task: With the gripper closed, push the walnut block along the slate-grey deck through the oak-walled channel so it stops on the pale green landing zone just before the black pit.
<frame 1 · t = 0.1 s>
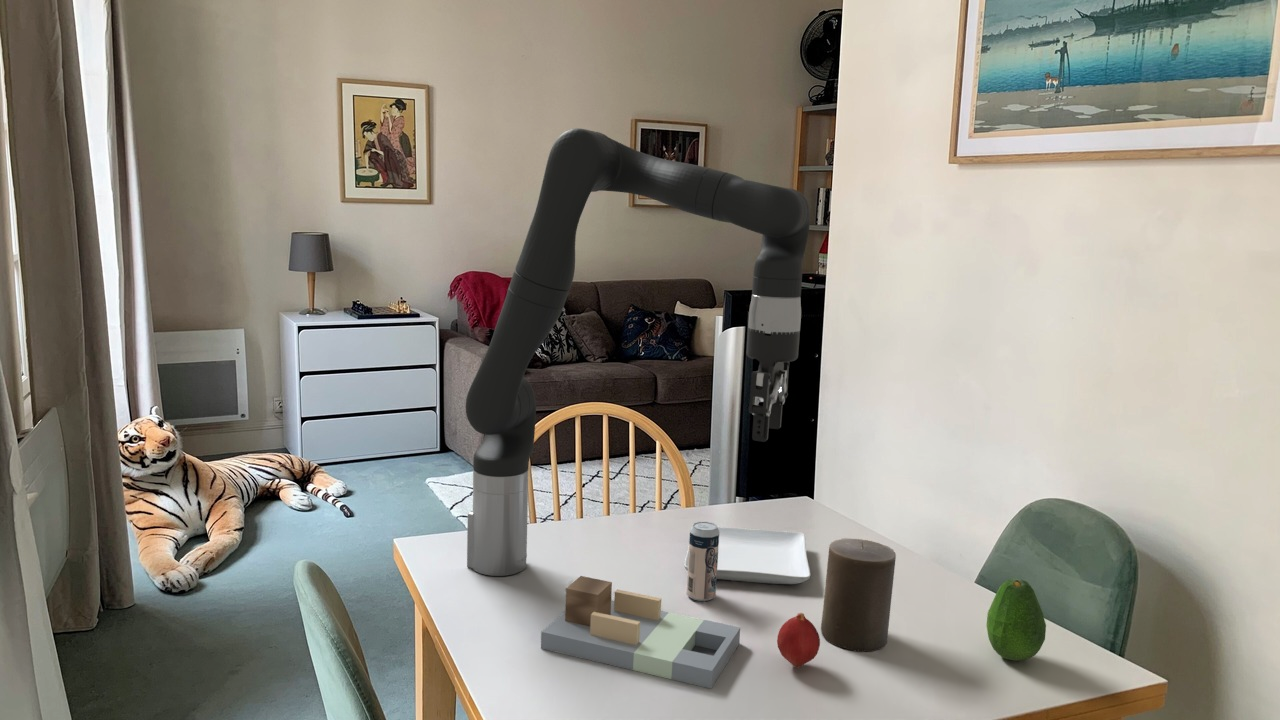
hand: (766, 434, 137), 29 cm above the table, tool pointing down, fingers open, 8 cm apart
beer can: (700, 597, 149), on the table
avocado: (1012, 660, 132), on the table
deck: (644, 646, 131), on the table
salad plate: (746, 567, 164), on the table
block: (588, 617, 134), point 2 cm above the table, touching deck
pillar candle: (854, 637, 137), on the table
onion: (796, 667, 128), on the table
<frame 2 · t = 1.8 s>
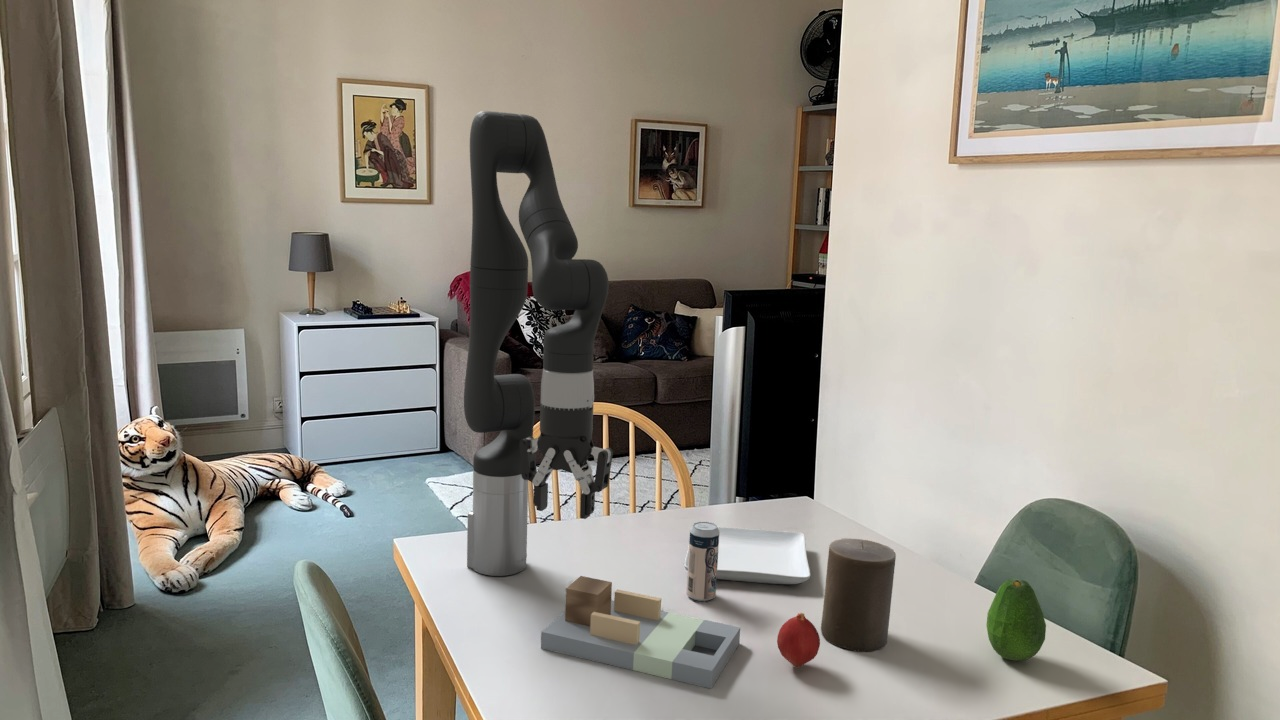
hand: (563, 512, 133), 18 cm above the table, tool pointing down, fingers open, 6 cm apart
nothing on the table moved.
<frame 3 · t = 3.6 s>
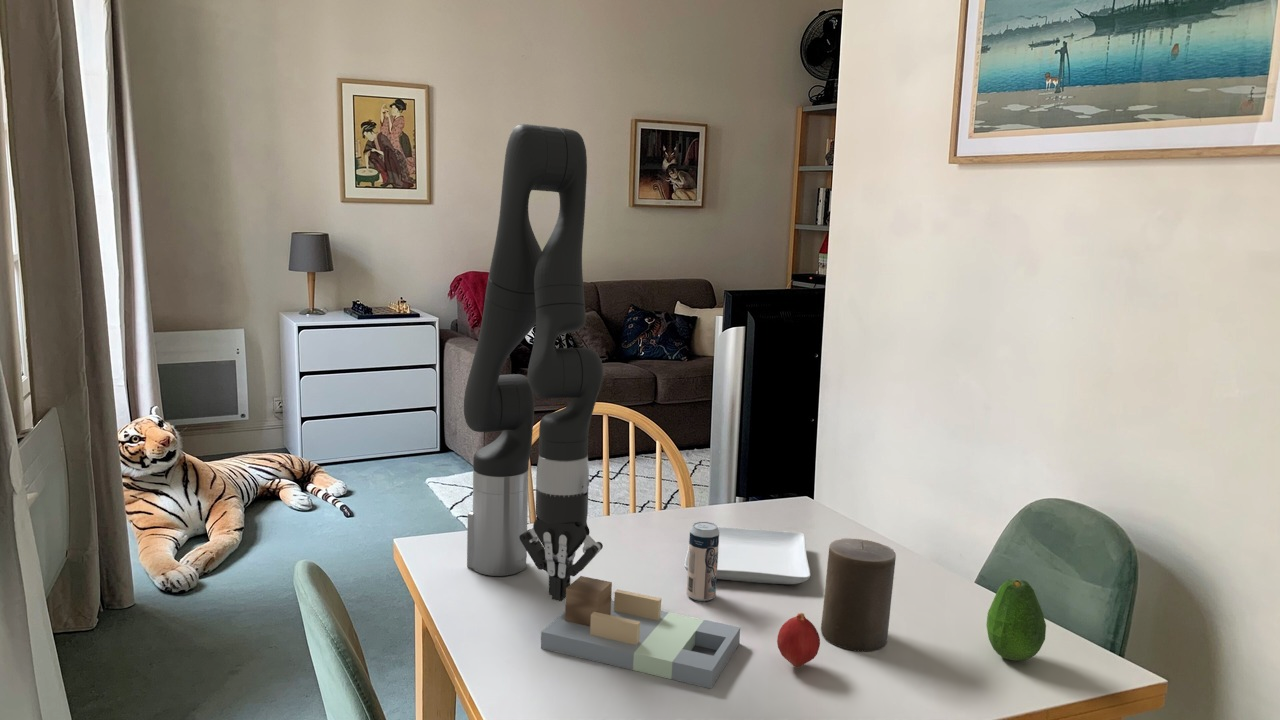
hand: (559, 598, 135), 4 cm above the table, tool pointing down, fingers closed
block: (588, 617, 134), point 2 cm above the table, touching deck, gripper
everything else where it was.
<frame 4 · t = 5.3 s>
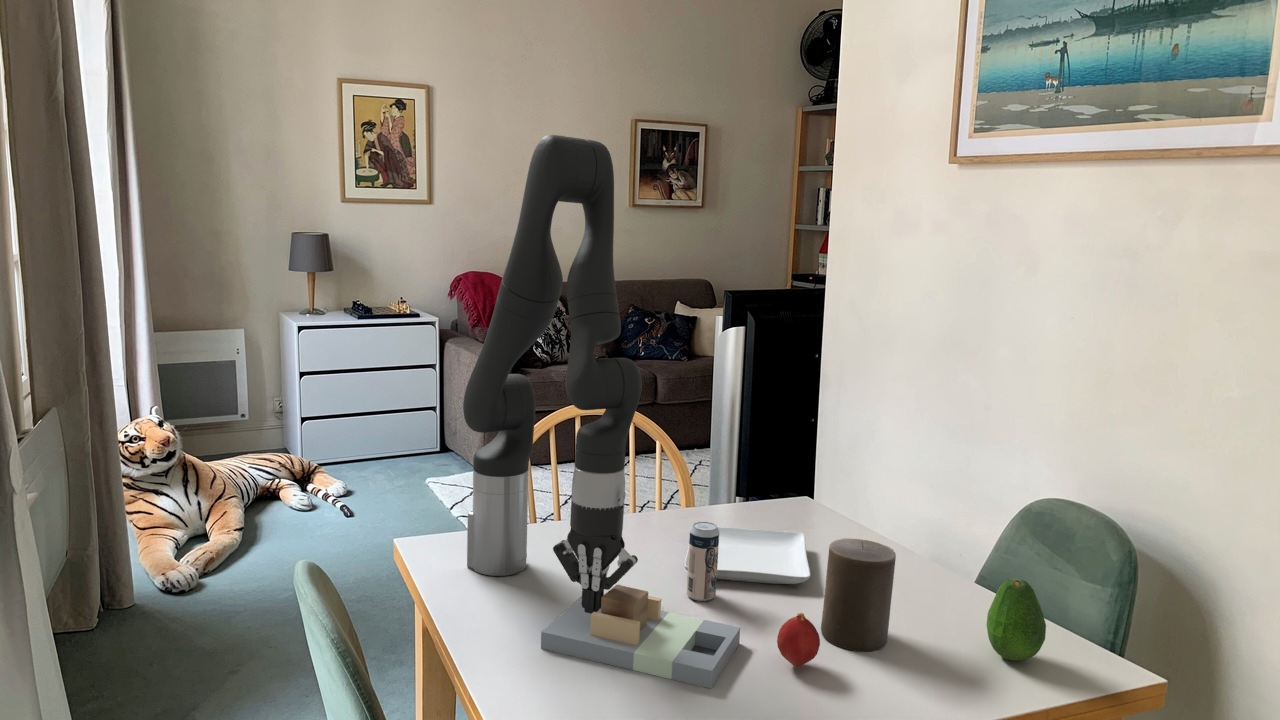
hand: (592, 611, 133), 4 cm above the table, tool pointing down, fingers closed
block: (623, 627, 132), point 2 cm above the table, touching deck, gripper
everything else where it was.
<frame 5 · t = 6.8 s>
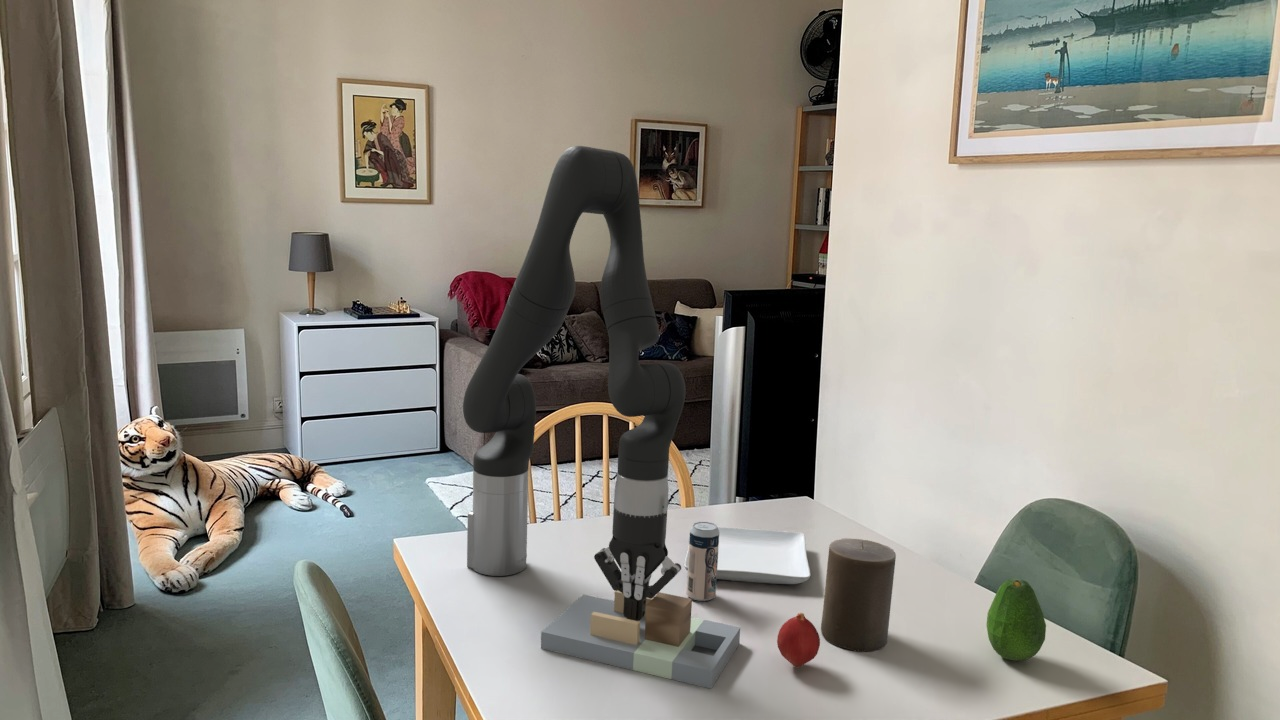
hand: (634, 620, 131), 4 cm above the table, tool pointing down, fingers closed
block: (667, 635, 130), point 2 cm above the table, touching deck, gripper
everything else where it was.
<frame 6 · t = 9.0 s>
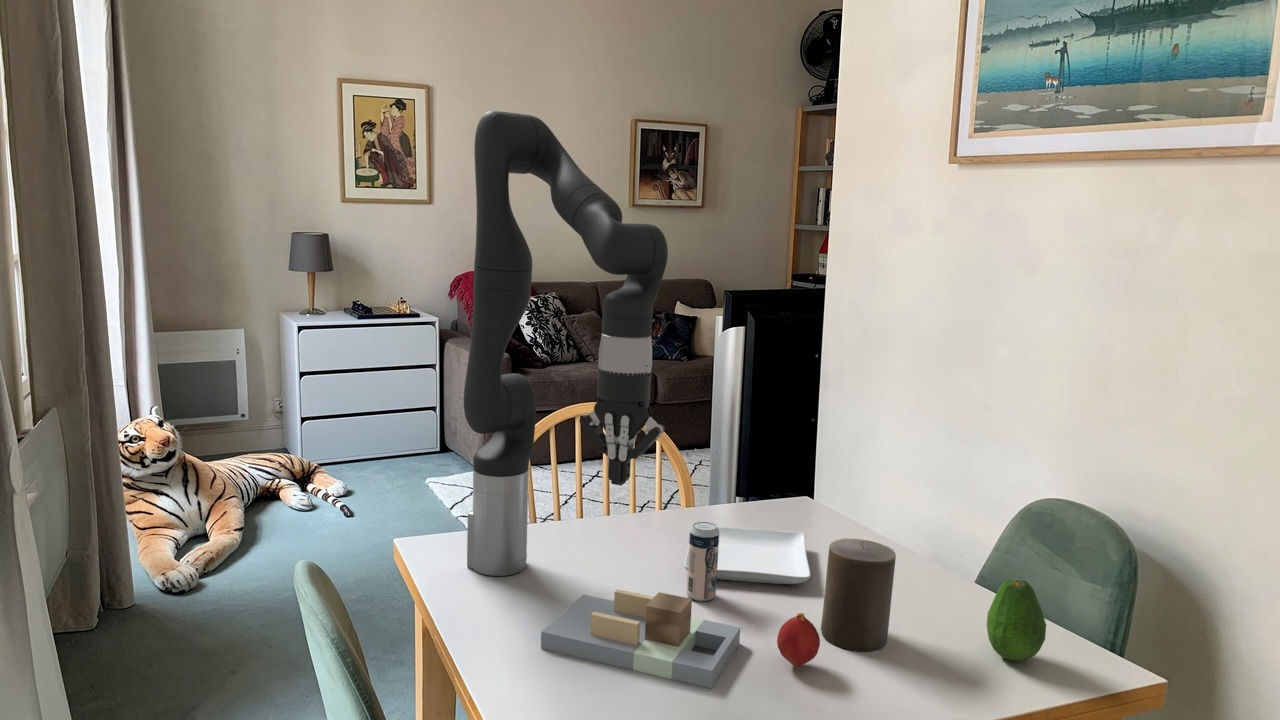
hand: (618, 483, 133), 22 cm above the table, tool pointing down, fingers closed
block: (667, 635, 130), point 2 cm above the table, touching deck
everything else where it was.
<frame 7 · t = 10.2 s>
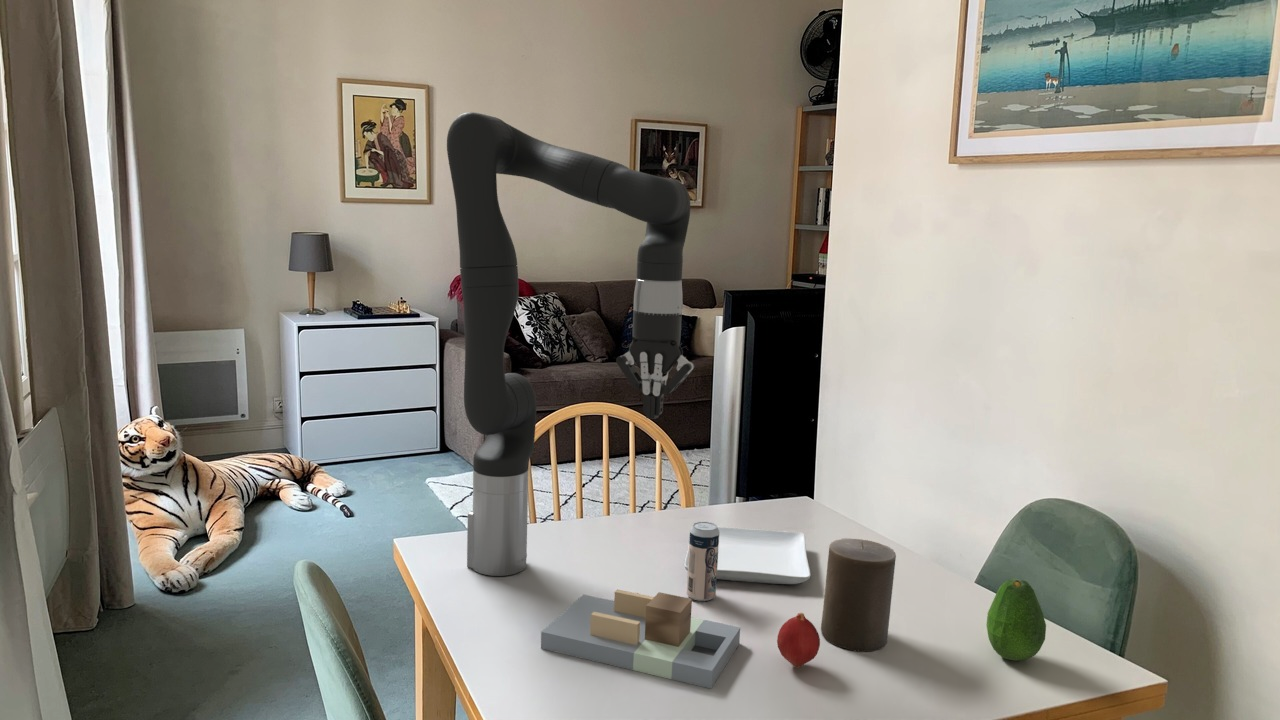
hand: (652, 417, 146), 29 cm above the table, tool pointing down, fingers closed
nothing on the table moved.
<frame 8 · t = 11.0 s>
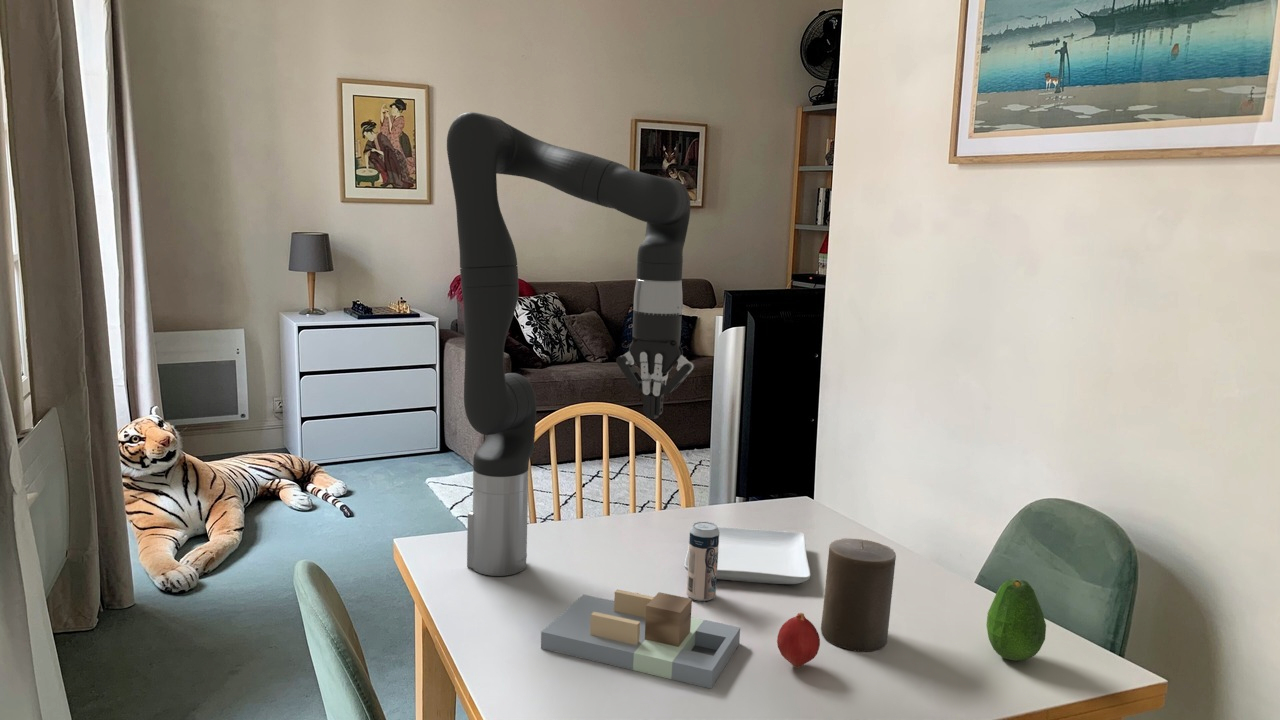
hand: (652, 417, 146), 29 cm above the table, tool pointing down, fingers closed
nothing on the table moved.
at the end: block 0.4 cm from the target spot, point 2.5 cm above the table; block tilted 0° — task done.
